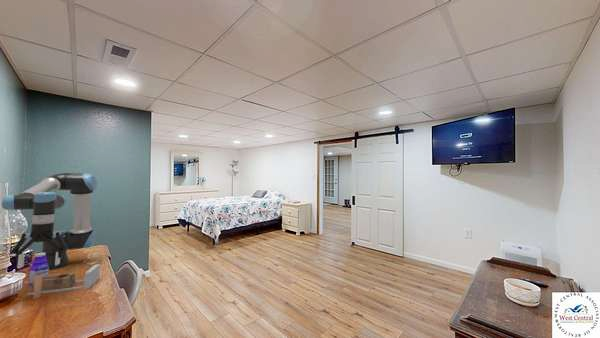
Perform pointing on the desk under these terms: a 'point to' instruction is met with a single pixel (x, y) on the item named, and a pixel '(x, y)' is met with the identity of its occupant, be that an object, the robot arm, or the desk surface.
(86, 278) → the rail
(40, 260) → the bottle
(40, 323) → the desk surface
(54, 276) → the block
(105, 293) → the desk surface
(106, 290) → the desk surface
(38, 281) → the dowel
